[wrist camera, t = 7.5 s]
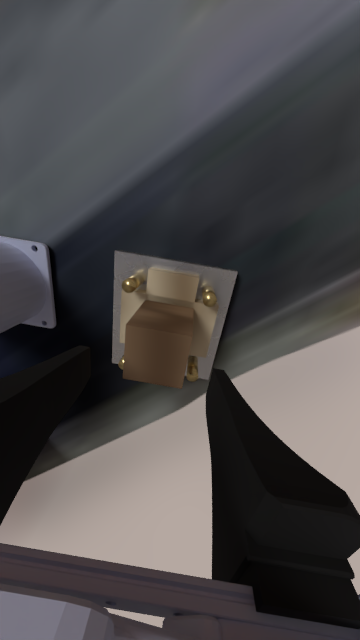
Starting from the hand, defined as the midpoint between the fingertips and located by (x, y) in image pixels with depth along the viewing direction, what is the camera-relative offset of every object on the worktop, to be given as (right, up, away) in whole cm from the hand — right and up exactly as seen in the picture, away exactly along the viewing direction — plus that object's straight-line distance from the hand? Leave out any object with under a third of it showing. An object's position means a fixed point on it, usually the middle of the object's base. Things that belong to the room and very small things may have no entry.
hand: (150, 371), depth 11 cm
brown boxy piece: (+1, +3, +6) cm, 7 cm away
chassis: (+1, +3, +7) cm, 8 cm away
